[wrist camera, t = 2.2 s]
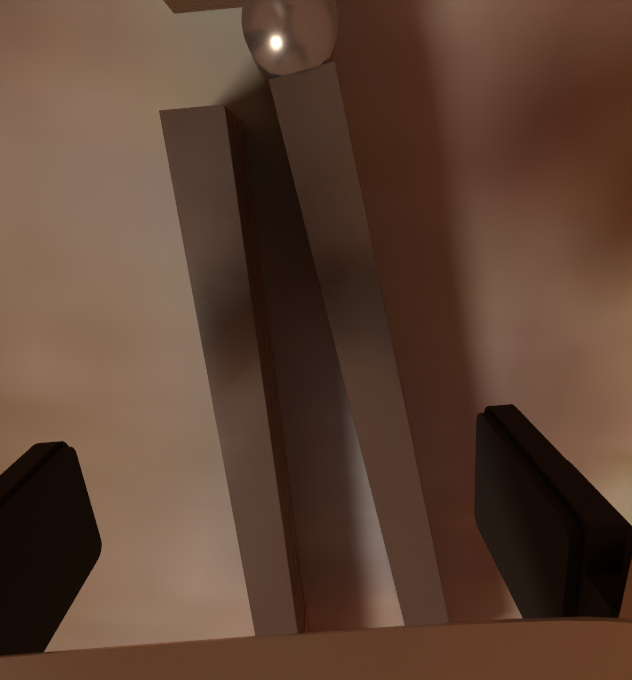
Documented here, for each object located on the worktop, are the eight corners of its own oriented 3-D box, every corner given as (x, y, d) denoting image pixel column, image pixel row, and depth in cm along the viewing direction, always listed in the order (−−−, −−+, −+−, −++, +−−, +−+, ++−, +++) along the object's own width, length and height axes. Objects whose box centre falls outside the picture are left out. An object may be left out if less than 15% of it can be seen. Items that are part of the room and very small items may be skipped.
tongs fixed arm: (158, -71, 13) (106, -159, 9) (317, -88, 13) (321, -181, 9) (279, 664, 23) (274, 748, 19) (368, 658, 23) (378, 740, 19)
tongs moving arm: (248, 26, 13) (228, -23, 10) (321, 5, 13) (326, -52, 10) (408, 657, 22) (426, 741, 19) (453, 649, 22) (479, 731, 19)
